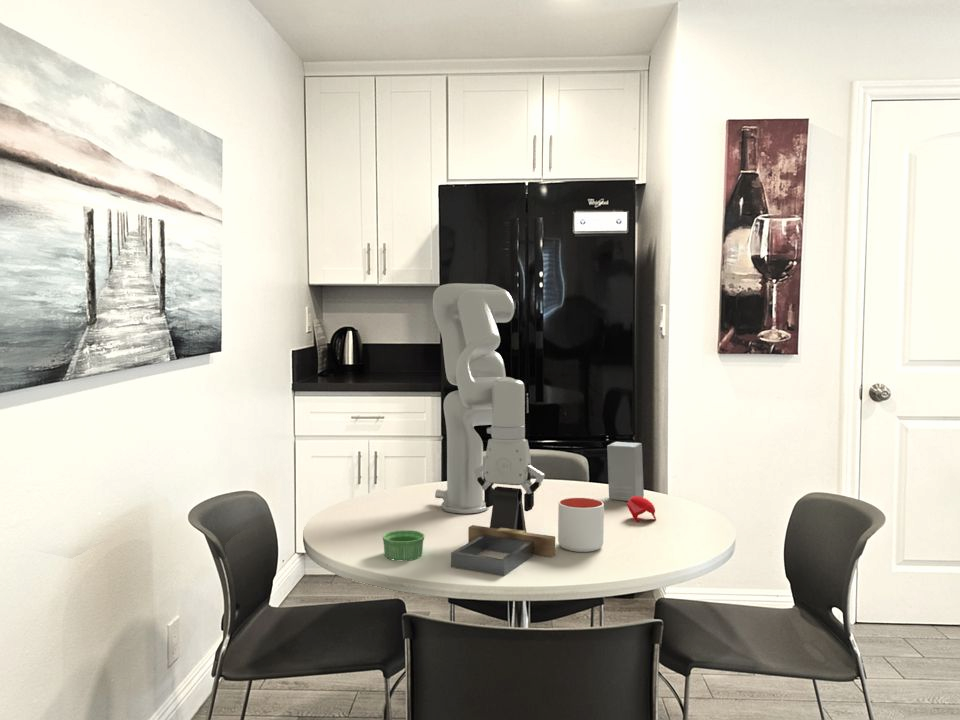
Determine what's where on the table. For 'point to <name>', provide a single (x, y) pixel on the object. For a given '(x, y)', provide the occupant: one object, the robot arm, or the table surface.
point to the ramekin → (403, 544)
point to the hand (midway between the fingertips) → (508, 508)
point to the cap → (640, 507)
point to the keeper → (472, 561)
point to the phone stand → (507, 509)
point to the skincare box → (625, 470)
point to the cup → (580, 524)
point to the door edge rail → (542, 543)
